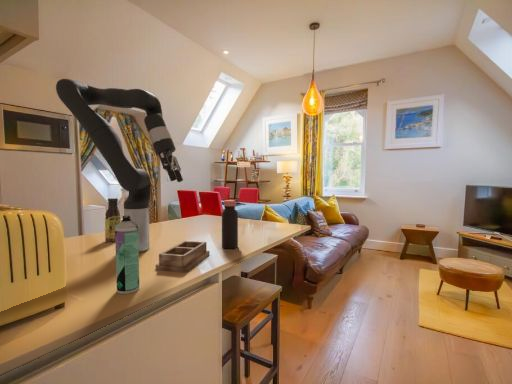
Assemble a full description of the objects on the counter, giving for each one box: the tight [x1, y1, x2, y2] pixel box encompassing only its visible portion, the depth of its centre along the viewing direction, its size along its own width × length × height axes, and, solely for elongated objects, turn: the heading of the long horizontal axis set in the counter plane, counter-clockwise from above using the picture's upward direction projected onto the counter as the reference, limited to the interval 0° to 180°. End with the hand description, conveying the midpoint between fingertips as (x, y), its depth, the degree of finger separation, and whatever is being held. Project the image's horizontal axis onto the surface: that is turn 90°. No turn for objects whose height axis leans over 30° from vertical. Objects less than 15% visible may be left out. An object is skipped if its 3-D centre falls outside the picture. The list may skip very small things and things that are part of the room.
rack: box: [155, 240, 210, 273], centre depth 94 cm, size 11×19×5 cm, turn 168°
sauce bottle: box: [104, 197, 121, 243], centre depth 122 cm, size 7×6×20 cm
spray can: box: [114, 215, 140, 295], centre depth 70 cm, size 6×6×20 cm
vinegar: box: [221, 199, 239, 250], centre depth 112 cm, size 7×7×20 cm
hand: (177, 181), depth 100 cm, fingers open, 8 cm apart
